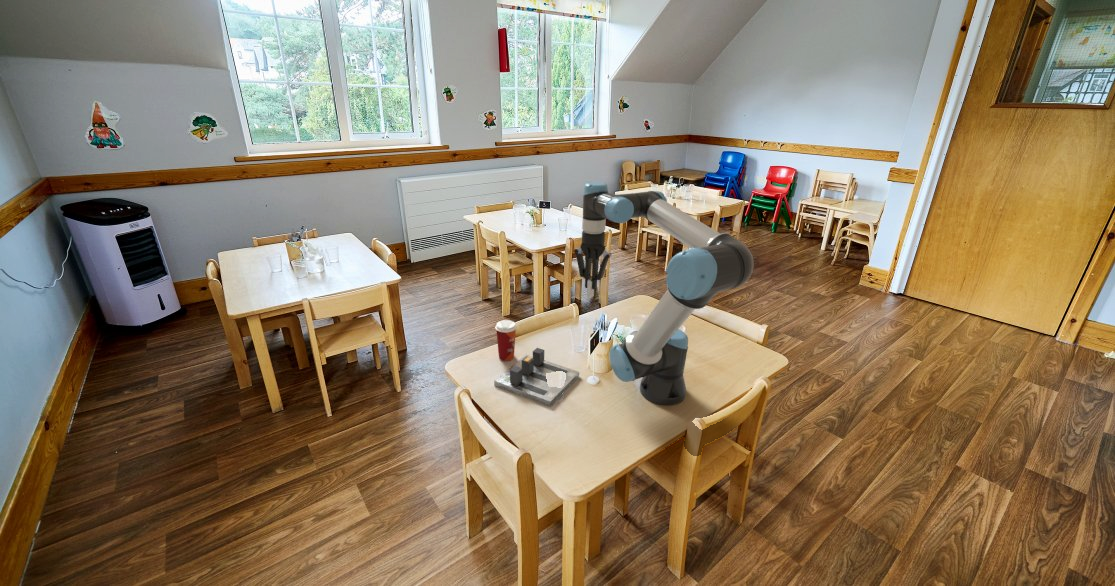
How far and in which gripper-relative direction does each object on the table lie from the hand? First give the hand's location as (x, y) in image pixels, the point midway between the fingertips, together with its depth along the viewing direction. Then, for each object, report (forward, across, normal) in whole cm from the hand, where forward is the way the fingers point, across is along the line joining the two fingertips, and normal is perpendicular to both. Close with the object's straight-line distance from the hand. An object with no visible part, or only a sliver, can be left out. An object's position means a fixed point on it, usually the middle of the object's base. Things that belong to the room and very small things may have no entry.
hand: (590, 296), depth 163 cm
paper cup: (+27, +28, +11) cm, 40 cm away
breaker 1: (+25, +15, +25) cm, 38 cm away
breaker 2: (+24, +14, +11) cm, 30 cm away
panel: (+27, +11, +19) cm, 34 cm away
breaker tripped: (+24, +15, +18) cm, 34 cm away
